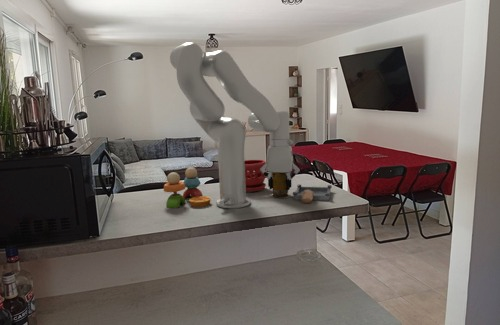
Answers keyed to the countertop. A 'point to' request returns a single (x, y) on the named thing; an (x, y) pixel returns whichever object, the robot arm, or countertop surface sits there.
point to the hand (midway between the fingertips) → (279, 188)
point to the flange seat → (312, 193)
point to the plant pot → (254, 175)
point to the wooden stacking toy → (191, 184)
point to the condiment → (280, 185)
